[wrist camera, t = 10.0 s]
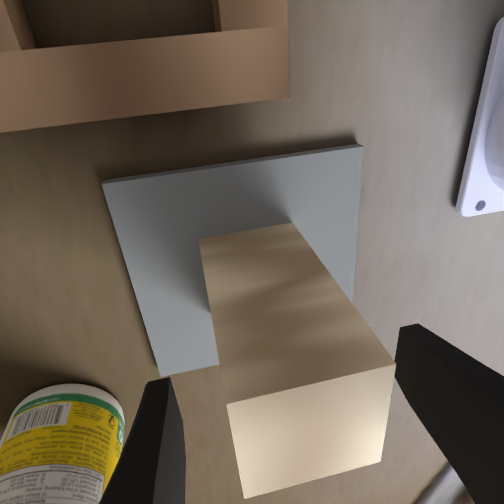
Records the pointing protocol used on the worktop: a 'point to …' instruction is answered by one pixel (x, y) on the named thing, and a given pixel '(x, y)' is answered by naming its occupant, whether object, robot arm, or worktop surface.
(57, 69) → the pocket block
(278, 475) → the maple part
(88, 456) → the supplement bottle
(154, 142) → the worktop surface
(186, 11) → the worktop surface
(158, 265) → the slate mat
